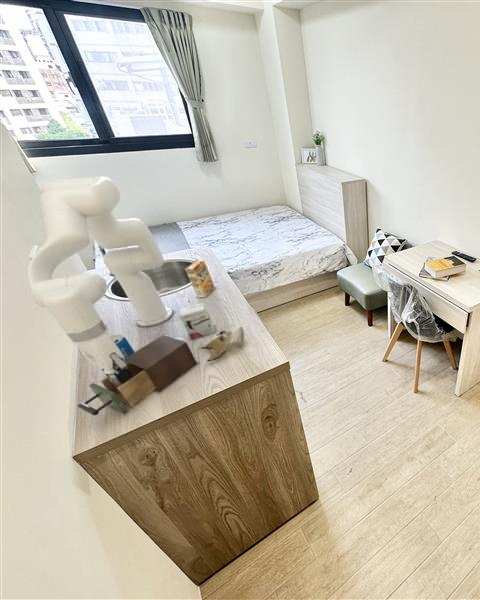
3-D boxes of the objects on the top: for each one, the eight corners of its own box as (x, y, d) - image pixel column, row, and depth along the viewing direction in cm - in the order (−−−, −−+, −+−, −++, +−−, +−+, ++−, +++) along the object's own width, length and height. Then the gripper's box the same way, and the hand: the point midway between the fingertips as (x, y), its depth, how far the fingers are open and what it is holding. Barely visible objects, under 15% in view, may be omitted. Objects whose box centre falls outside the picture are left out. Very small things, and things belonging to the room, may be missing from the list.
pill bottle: (115, 379, 96) (101, 359, 92) (134, 373, 98) (121, 353, 94) (112, 390, 93) (97, 369, 88) (132, 384, 95) (118, 364, 90)
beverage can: (124, 375, 107) (105, 349, 100) (114, 369, 110) (96, 342, 103) (144, 363, 112) (128, 337, 105) (135, 357, 114) (118, 331, 108)
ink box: (191, 340, 122) (179, 315, 116) (190, 333, 126) (178, 309, 119) (215, 332, 126) (205, 308, 120) (213, 326, 130) (203, 302, 123)
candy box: (205, 297, 148) (193, 268, 139) (196, 297, 148) (184, 268, 140) (215, 287, 155) (204, 259, 147) (207, 287, 155) (195, 259, 147)
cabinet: (160, 392, 101) (145, 369, 95) (137, 382, 105) (122, 359, 99) (197, 363, 111) (186, 342, 106) (175, 355, 115) (163, 334, 109)
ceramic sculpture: (245, 329, 113) (200, 350, 105) (253, 347, 118) (210, 368, 110) (236, 316, 120) (193, 335, 112) (244, 334, 125) (203, 352, 117)
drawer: (106, 428, 89) (90, 409, 85) (85, 416, 92) (68, 398, 88) (164, 384, 103) (153, 365, 98) (144, 375, 106) (133, 357, 101)
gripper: (52, 331, 84) (89, 378, 95) (90, 347, 79) (126, 395, 89) (84, 315, 90) (116, 361, 100) (122, 329, 85) (152, 376, 95)
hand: (120, 377), depth 95 cm, fingers closed on pill bottle, 4 cm apart
